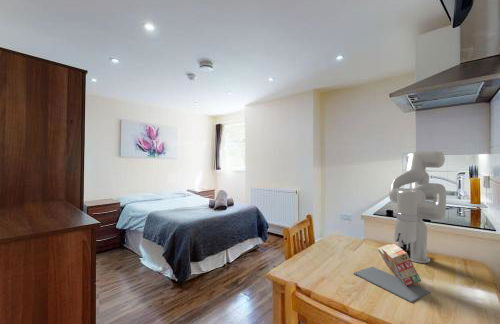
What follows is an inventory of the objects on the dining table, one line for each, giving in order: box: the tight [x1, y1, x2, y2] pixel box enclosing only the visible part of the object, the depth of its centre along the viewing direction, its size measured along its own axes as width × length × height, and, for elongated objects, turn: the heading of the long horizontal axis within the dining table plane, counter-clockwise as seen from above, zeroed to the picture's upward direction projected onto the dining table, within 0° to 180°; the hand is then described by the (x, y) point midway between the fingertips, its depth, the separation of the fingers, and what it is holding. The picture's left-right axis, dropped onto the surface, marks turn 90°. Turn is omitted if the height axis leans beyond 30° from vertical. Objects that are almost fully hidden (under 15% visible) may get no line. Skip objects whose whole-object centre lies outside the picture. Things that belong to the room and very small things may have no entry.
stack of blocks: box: [377, 243, 422, 286], centre depth 104 cm, size 21×6×12 cm, turn 168°
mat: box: [353, 266, 431, 304], centre depth 98 cm, size 14×24×1 cm, turn 29°
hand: (405, 257), depth 104 cm, fingers closed
